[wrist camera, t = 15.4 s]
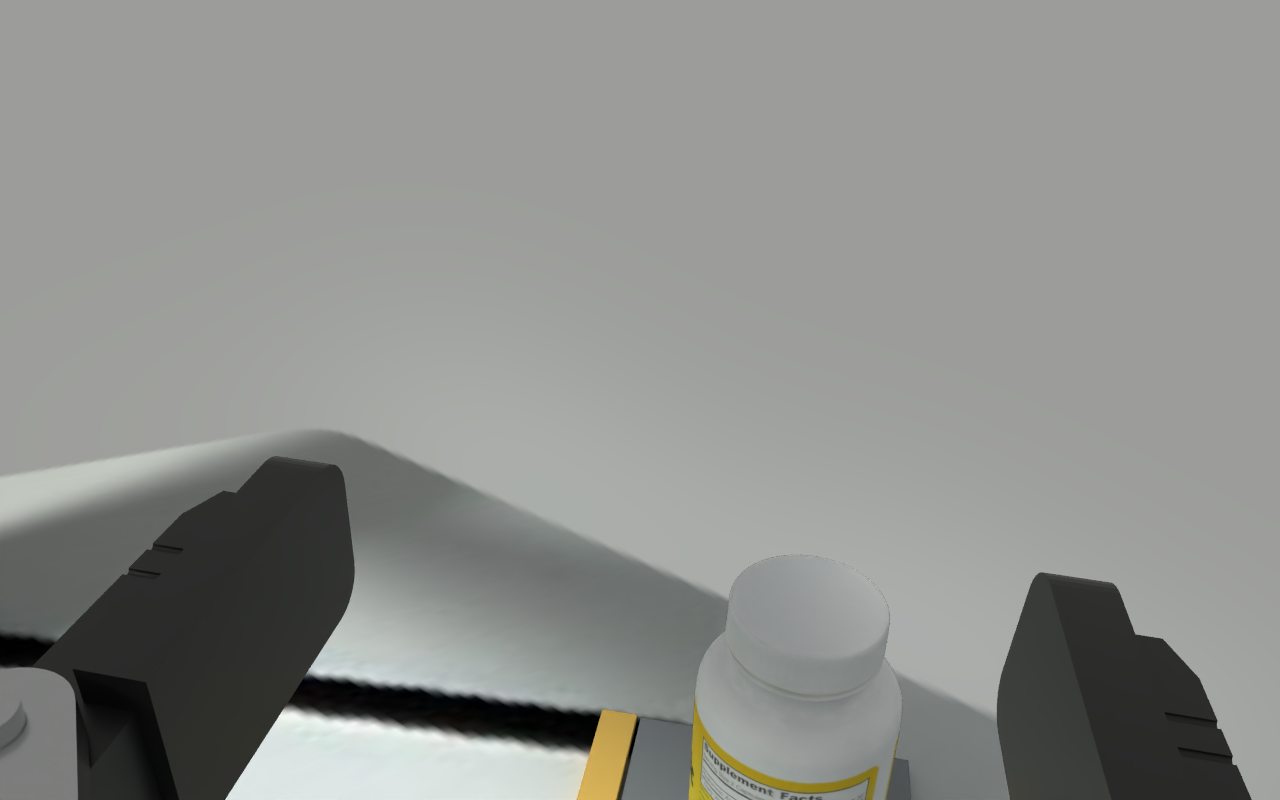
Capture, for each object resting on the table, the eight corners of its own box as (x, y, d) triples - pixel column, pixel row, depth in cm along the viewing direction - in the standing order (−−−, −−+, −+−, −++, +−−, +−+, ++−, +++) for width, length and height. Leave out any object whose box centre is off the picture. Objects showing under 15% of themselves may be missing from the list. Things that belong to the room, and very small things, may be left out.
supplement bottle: (754, 757, 32) (783, 512, 28) (901, 856, 29) (963, 599, 24) (645, 864, 29) (658, 603, 24) (800, 990, 26) (850, 719, 21)
